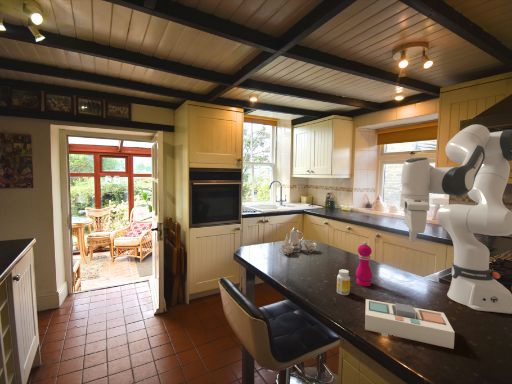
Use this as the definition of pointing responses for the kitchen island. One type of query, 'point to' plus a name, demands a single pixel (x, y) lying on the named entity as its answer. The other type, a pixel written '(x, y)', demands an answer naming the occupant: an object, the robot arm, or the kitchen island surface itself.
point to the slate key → (404, 310)
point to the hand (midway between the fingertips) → (412, 240)
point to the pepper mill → (364, 266)
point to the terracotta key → (432, 318)
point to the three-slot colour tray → (409, 325)
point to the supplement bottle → (343, 282)
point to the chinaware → (296, 243)
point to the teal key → (378, 308)
